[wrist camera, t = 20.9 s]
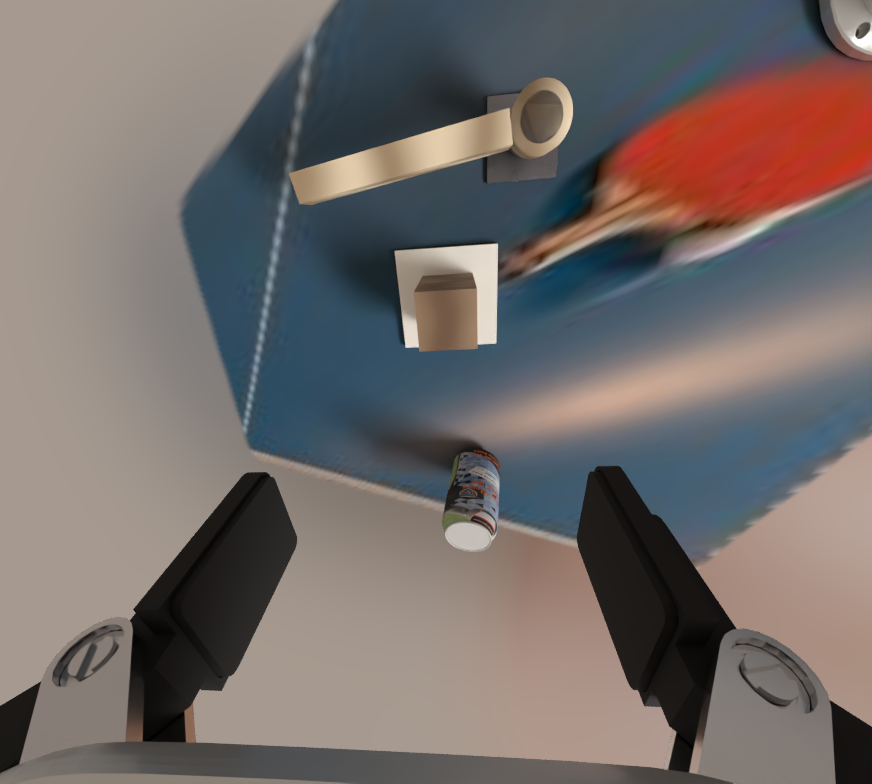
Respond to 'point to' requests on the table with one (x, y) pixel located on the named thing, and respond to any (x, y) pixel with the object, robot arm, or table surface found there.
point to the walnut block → (446, 312)
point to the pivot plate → (510, 166)
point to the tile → (450, 262)
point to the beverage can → (472, 501)
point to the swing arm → (447, 146)
